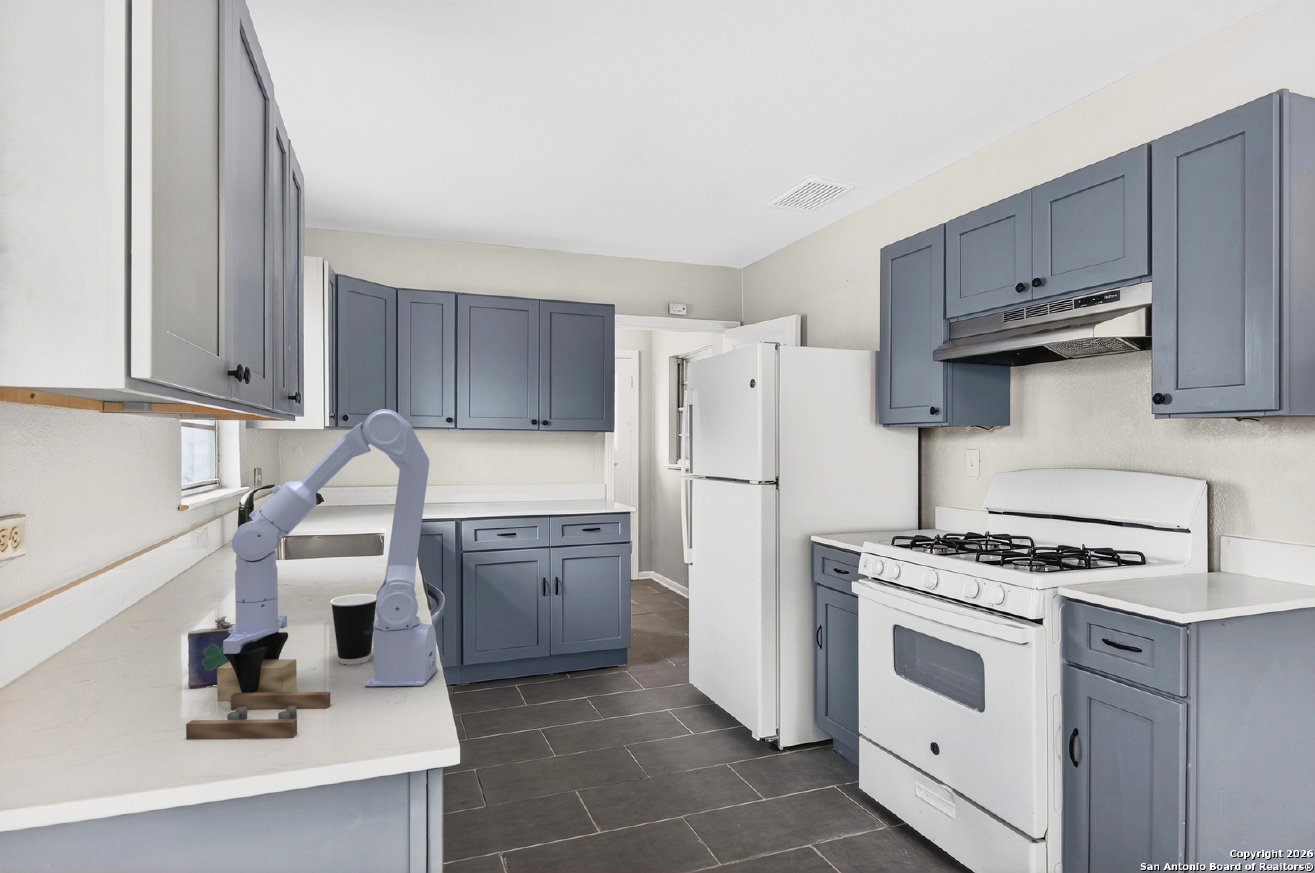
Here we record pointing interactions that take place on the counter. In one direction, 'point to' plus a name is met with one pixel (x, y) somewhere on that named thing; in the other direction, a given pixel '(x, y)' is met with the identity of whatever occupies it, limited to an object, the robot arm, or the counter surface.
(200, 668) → the flask
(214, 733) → the peg frame
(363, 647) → the dixie cup
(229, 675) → the light wooden block
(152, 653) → the counter surface
